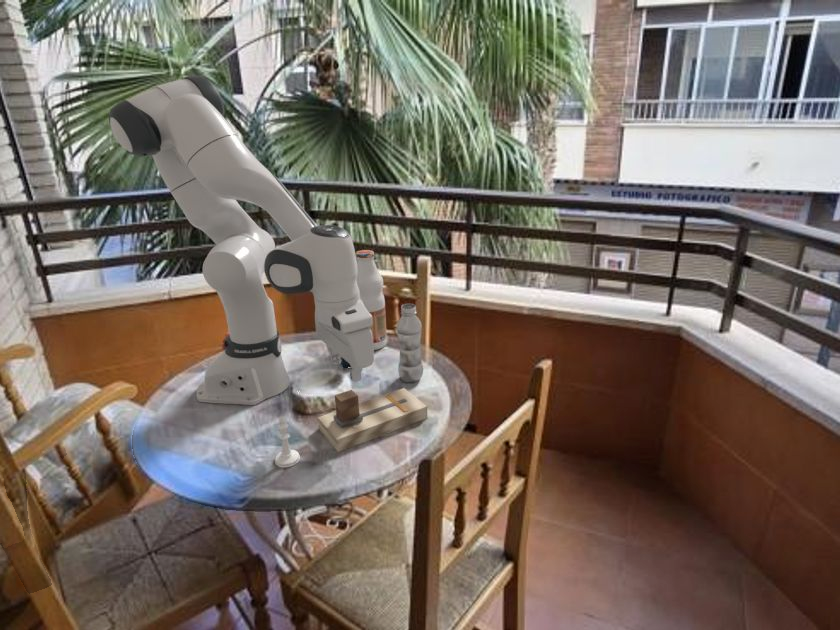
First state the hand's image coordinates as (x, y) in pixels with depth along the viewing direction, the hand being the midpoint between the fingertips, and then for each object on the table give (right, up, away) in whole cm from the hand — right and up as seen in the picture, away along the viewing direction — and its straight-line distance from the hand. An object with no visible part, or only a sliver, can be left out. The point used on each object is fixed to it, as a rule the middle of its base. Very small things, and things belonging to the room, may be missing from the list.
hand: (346, 371), depth 110 cm
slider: (0, -11, +5) cm, 12 cm away
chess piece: (-11, -18, -2) cm, 21 cm away
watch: (-4, -2, +36) cm, 36 cm away
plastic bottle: (+13, -5, +27) cm, 31 cm away
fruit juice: (+1, +3, +47) cm, 47 cm away
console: (+5, -13, +9) cm, 16 cm away
